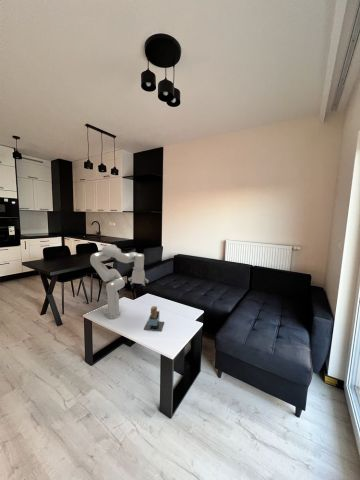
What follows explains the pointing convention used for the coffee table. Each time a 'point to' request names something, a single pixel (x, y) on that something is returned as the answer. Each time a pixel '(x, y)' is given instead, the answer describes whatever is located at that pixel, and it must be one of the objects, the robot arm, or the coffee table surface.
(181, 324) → the coffee table surface
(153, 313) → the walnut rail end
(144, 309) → the coffee table surface
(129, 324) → the coffee table surface
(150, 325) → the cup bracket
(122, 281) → the robot arm
